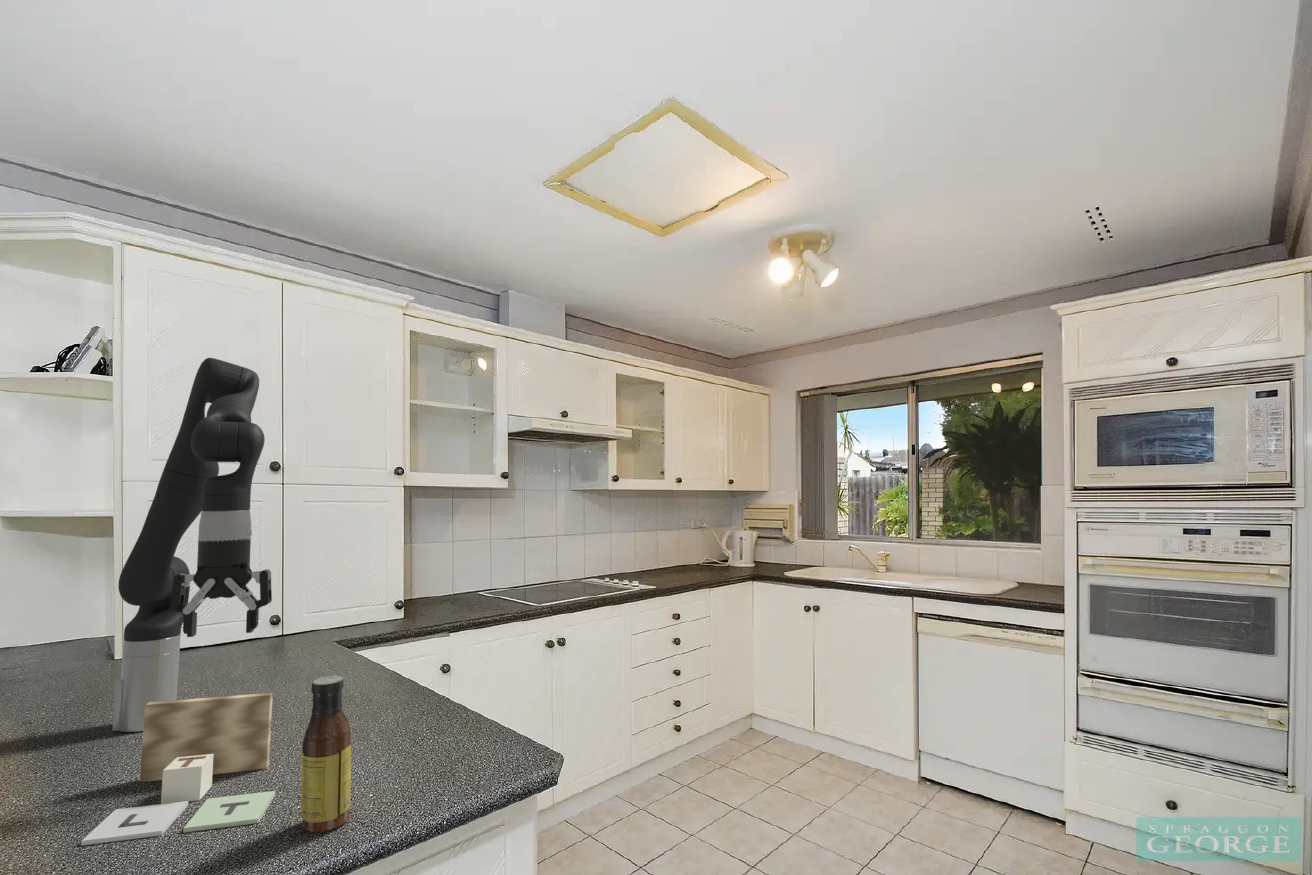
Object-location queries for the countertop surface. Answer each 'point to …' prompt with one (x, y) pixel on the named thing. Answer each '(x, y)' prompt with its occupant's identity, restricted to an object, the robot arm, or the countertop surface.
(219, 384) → the robot arm
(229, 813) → the board
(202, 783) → the cube
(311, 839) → the countertop surface
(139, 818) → the board
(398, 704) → the countertop surface
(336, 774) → the sauce bottle
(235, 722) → the thin wooden plank
